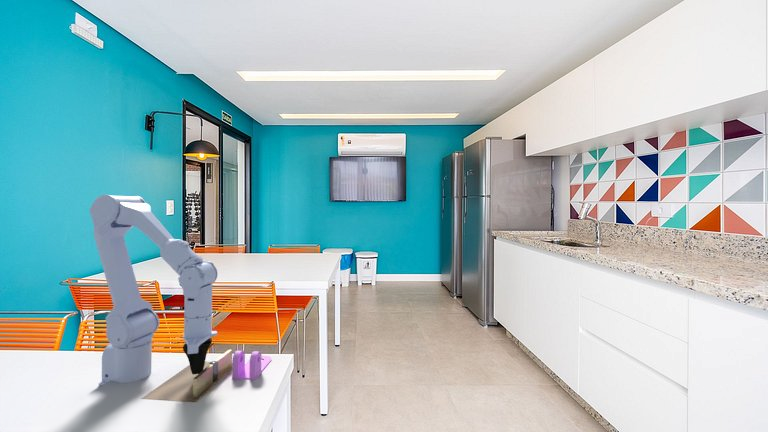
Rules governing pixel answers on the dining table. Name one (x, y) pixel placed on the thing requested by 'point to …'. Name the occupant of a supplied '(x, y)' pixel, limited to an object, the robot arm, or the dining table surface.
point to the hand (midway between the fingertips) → (197, 372)
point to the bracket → (248, 365)
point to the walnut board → (181, 387)
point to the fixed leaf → (221, 364)
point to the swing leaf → (202, 381)
